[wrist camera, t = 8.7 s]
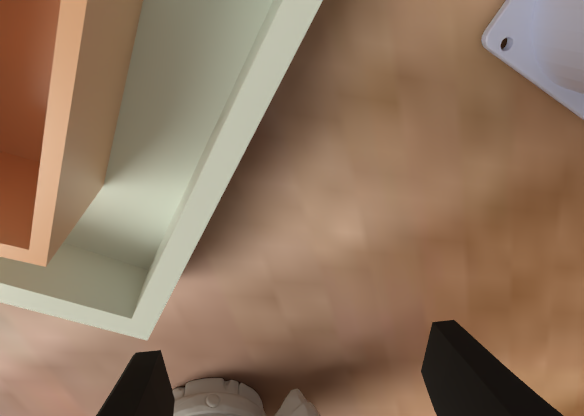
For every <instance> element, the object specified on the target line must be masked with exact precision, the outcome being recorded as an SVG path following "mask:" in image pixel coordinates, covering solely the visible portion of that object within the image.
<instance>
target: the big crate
mask: <svg viewBox="0 0 584 416" xmlns="http://www.w3.org/2000/svg"><path fill="white" fill-rule="evenodd" d="M322 1H323V0H143V4H142V9H141V13H140V18H139V23H138V27H137V32H136V37H135V41H134V46H133V51H132V55H131V60H130V65H129V69H128V74H127V79H126V83H125V88H124V92H123V97H122V102H121V106H120V111H119V116H118V120H117V125H116V130H115V134H114V139H113V144H112V148H111V153H110V158H109V162H108V167H107V172H106V176H105V181H104V186H103V187H102V188H101V190H100V191H99V193H98V194H97V195H96V197H95V198H94V200H93V201H92V203H91V204H90V205H89V207H88V208H87V210H86V211H85V212H84V214H83V215H82V217H81V218H80V219H79V221H78V222H77V224H76V225H75V226H74V228H73V229H72V231H71V232H70V234H69V235H68V236H67V238H66V239H65V241H64V242H63V243H62V245H61V246H60V248H59V249H58V250H57V252H56V253H55V255H54V256H53V257H52V259H51V260H50V262H49V263H48V265H47V266H46V267H44V266H40V265H35V264H31V263H26V262H22V261H17V260H13V259H8V258H4V257H0V302H1V303H5V304H9V305H13V306H16V307H20V308H24V309H28V310H32V311H36V312H40V313H43V314H47V315H51V316H55V317H59V318H63V319H67V320H70V321H74V322H78V323H82V324H86V325H90V326H94V327H98V328H101V329H105V330H109V331H113V332H117V333H121V334H125V335H128V336H132V337H136V338H140V339H144V340H148V338H149V336H150V334H151V332H152V330H153V329H154V327H155V325H156V323H157V321H158V319H159V317H160V315H161V313H162V311H163V309H164V307H165V305H166V303H167V301H168V299H169V298H170V296H171V294H172V292H173V290H174V288H175V286H176V284H177V282H178V280H179V278H180V276H181V274H182V272H183V270H184V268H185V267H186V265H187V263H188V261H189V259H190V257H191V255H192V253H193V251H194V249H195V247H196V245H197V243H198V241H199V239H200V237H201V236H202V234H203V232H204V230H205V228H206V226H207V224H208V222H209V220H210V218H211V216H212V214H213V212H214V210H215V208H216V206H217V205H218V203H219V201H220V199H221V197H222V195H223V193H224V191H225V189H226V187H227V185H228V183H229V181H230V179H231V177H232V175H233V173H234V172H235V170H236V168H237V166H238V164H239V162H240V160H241V158H242V156H243V154H244V152H245V150H246V148H247V146H248V144H249V142H250V141H251V139H252V137H253V135H254V133H255V131H256V129H257V127H258V125H259V123H260V121H261V119H262V117H263V115H264V113H265V111H266V110H267V108H268V106H269V104H270V102H271V100H272V98H273V96H274V94H275V92H276V90H277V88H278V86H279V84H280V82H281V80H282V79H283V77H284V75H285V73H286V71H287V69H288V67H289V65H290V63H291V61H292V59H293V57H294V55H295V53H296V51H297V49H298V48H299V46H300V44H301V42H302V40H303V38H304V36H305V34H306V32H307V30H308V28H309V26H310V24H311V22H312V20H313V18H314V16H315V15H316V13H317V11H318V9H319V7H320V5H321V3H322Z"/></svg>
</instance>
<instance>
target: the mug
mask: <svg viewBox="0 0 584 416" xmlns="http://www.w3.org/2000/svg"><path fill="white" fill-rule="evenodd" d="M172 391H173V395H174V398H175V403H174V414H173V416H266V414H265V412H264V411H263V404H262V400H261V399H260V397H259V395H258V394H257V393H256V391H255V390H253V389H252V388H250V387H249V386H247V385H245V384H244V383H240V384H239V383H238V382H237V381H234V380H229V381H224V379H223V378H205V379H198V380H193V381H190V382H188V383H186V386H185V387H184V388H182V387H179V388H175V389H174V390H172ZM274 416H320V414H319V413H318V411H317V409H316V408H315V406H314V405H313V404H312V403H311V402H307V400H306V398H305V397H304V395H303V394H302V392H301V391H300V390H299V389H293V390H291V391H290V392H289V394H288V395H287V397H286V398H285V400H284V402H283V404H282V405H281V407H280V409H279V410H278V411H277V413H276V414H275V415H274Z"/></svg>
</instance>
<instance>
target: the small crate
mask: <svg viewBox="0 0 584 416" xmlns="http://www.w3.org/2000/svg"><path fill="white" fill-rule="evenodd" d="M142 4H143V0H0V257H4V258H8V259H13V260H17V261H22V262H26V263H31V264H35V265H40V266H44V267H46V266H47V265H48V263H49V262H50V260H51V259H52V257H53V256H54V255H55V253H56V252H57V250H58V249H59V248H60V246H61V245H62V243H63V242H64V241H65V239H66V238H67V236H68V235H69V234H70V232H71V231H72V229H73V228H74V226H75V225H76V224H77V222H78V221H79V219H80V218H81V217H82V215H83V214H84V212H85V211H86V210H87V208H88V207H89V205H90V204H91V203H92V201H93V200H94V198H95V197H96V195H97V194H98V193H99V191H100V190H101V188H102V187H103V186H104V181H105V176H106V172H107V167H108V162H109V158H110V153H111V148H112V144H113V139H114V134H115V130H116V125H117V120H118V116H119V111H120V106H121V102H122V97H123V92H124V88H125V83H126V79H127V74H128V69H129V65H130V60H131V55H132V51H133V46H134V41H135V37H136V32H137V27H138V23H139V18H140V13H141V9H142Z"/></svg>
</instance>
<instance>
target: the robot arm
mask: <svg viewBox="0 0 584 416" xmlns="http://www.w3.org/2000/svg"><path fill="white" fill-rule="evenodd" d="M505 38H507V44H506V46H505V47H504V48H503V49H501V42H502V40H504V39H505ZM481 41H482V45H483V47H484V48H485V49H487V50H488V51H489V52H491V53H492V54H493V55H495V56H496V57H498V58H499V59H500V60H502V61H503V62H504V63H506V64H507V65H509V66H510V67H511V68H513V69H514V70H515V71H517V72H518V73H520V74H521V75H522V76H524V77H525V78H526V79H528V80H529V81H531V82H532V83H533V84H535V85H536V86H537V87H539V88H540V89H542V90H543V91H544V92H546V93H547V94H548V95H550V96H551V97H553V98H554V99H555V100H557V101H558V102H559V103H561V104H562V105H564V106H565V107H566V108H568V109H569V110H570V111H572V112H573V113H575V114H576V115H577V116H579V117H580V118H581V119H583V120H584V0H506V1H505V2H504V4H503V5H502V7H501V8H500V9H499V11H498V12H497V14H496V15H495V16H494V18H493V19H492V21H491V22H490V24H489V25H488V26H487V28H486V29H485V31H484V33H483V35H482V40H481ZM421 373H422V376H423V379H424V382H425V385H426V388H427V391H428V393H429V396H430V399H431V402H432V404H433V407H434V410H435V412H436V414H437V416H563V415H562V414H561V413H560V412H558V411H557V410H556V409H555V408H553V407H552V406H551V405H550V404H548V403H547V402H546V401H545V400H544V399H542V398H541V397H540V396H539V395H538V394H536V393H535V392H534V391H533V390H532V389H531V388H530V387H528V386H527V385H526V384H525V383H524V382H523V381H521V380H520V379H519V378H518V377H517V376H516V375H514V374H513V373H512V372H511V371H510V370H509V369H508V368H507V367H505V366H504V365H503V364H502V363H501V362H500V361H499V360H498V359H496V358H495V357H494V356H493V355H492V354H491V353H490V352H489V351H488V350H487V349H485V348H484V347H483V346H482V345H481V344H480V343H479V342H478V341H477V340H476V339H474V338H473V337H472V336H471V335H470V334H469V333H468V332H467V331H466V330H465V329H464V328H462V327H461V326H460V325H459V324H458V323H457V322H456V321H455V320H450V321H440V322H432V327H431V331H430V335H429V340H428V344H427V348H426V352H425V357H424V361H423V365H422V370H421ZM174 403H175V398H174V395H173V391H172V388H171V384H170V381H169V377H168V374H167V371H166V367H165V364H164V360H163V357H162V353H161V350H158V351H149V352H139V353H135V354H134V355H133V356H132V358H131V360H130V362H129V363H128V365H127V367H126V368H125V370H124V372H123V373H122V375H121V377H120V378H119V380H118V382H117V383H116V385H115V387H114V388H113V390H112V392H111V393H110V395H109V396H108V398H107V399H106V401H105V403H104V404H103V406H102V407H101V409H100V411H99V412H98V414H97V415H96V416H173V414H174Z"/></svg>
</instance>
